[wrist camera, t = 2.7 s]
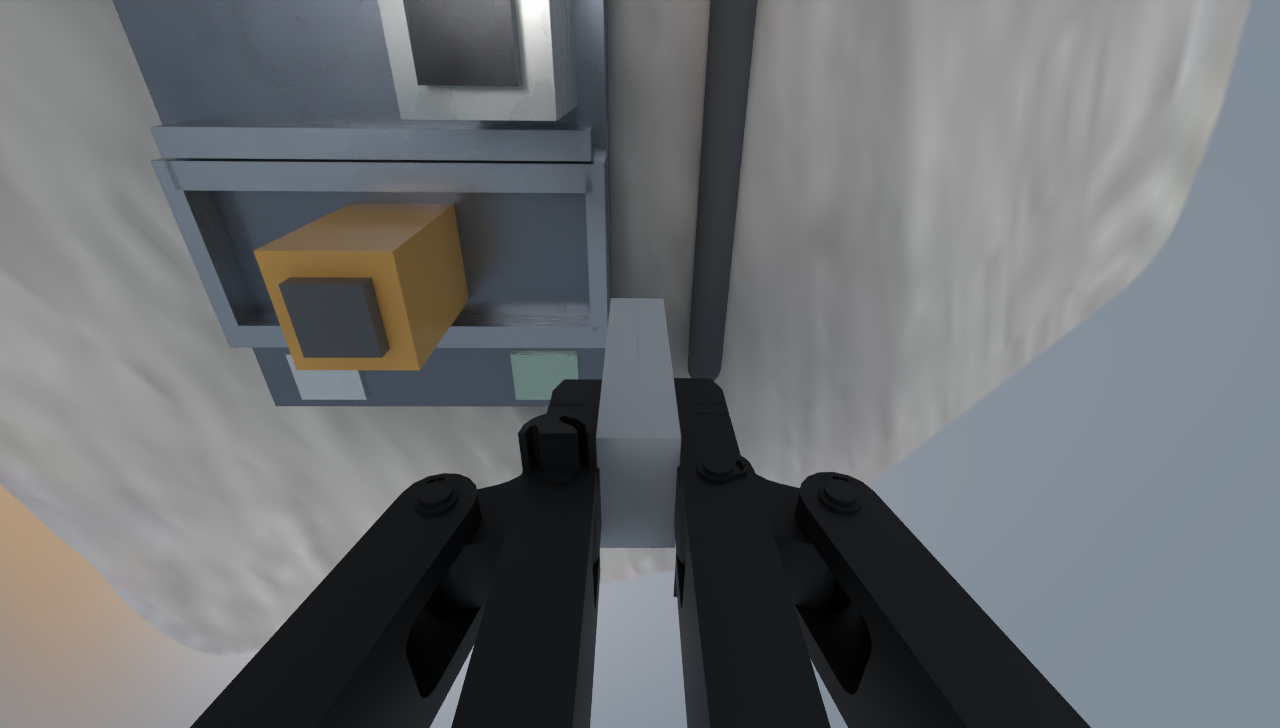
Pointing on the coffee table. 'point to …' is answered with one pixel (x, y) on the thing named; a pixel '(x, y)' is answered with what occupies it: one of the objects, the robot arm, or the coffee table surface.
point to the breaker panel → (395, 170)
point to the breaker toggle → (367, 286)
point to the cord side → (719, 177)
